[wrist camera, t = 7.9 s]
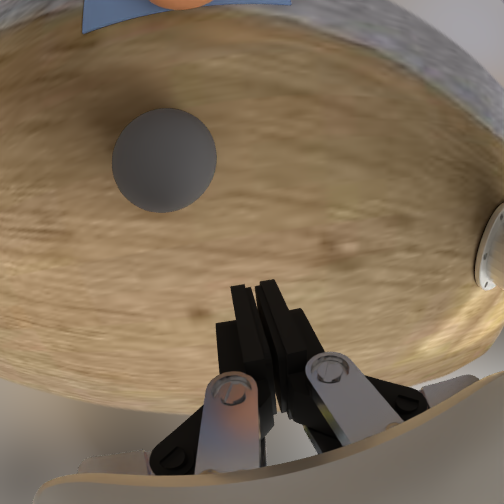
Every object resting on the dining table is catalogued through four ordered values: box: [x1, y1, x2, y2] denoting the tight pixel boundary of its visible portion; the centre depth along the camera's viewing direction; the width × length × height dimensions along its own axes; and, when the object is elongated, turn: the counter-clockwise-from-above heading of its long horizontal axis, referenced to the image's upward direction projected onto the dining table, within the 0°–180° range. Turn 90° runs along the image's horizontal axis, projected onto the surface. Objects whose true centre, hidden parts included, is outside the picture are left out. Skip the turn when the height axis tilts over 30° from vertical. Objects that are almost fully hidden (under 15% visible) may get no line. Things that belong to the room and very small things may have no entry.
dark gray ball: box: [112, 108, 217, 213], centre depth 13 cm, size 6×6×6 cm
